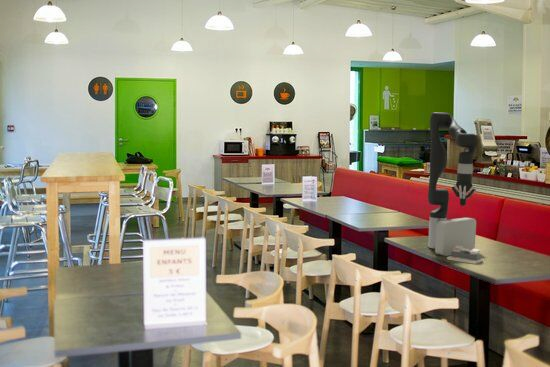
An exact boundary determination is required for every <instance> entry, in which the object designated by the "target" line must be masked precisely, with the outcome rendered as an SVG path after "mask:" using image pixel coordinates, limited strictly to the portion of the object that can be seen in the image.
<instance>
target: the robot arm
mask: <svg viewBox="0 0 550 367" xmlns="http://www.w3.org/2000/svg"><path fill="white" fill-rule="evenodd" d="M429 130H430V132H429V133H430V152H429V180H428V189H427V190H428V191H427V201H428V204H429V205H431V206H438V208H436V209H434V210H431V211H430V212H429V223H428V243H427V247H428V248H430V249H434V250H435V242H436V226H437V223H438V222H439V221H443V220H448V219H447V218H448V212H449V211H448V210H449V202H450V192H449V190H448V189H447V188H437V184H438V181H439V178H440V177H441V175H442V174H443V173H444V171H445V169H446V168H447V164H448V151H447V150H446V148H445V145H444V144H443V142H442V141H441V138H440V133H439V130H448V135H449V136H450V137H451V138H452V139H453V140H455V143H456V145H457V146H458V147H459V148H467V149H466V150H465V151H461V152H459V154H458V162H457V163H458V166H457V173H456V183H455V185H453V186H452V187H451V190H452V192H453V193H454V194H455V196H456V197H457V198H459V205H460V206H461V207H465V206H466V205H467V199H469V198H471V197H472V196H473V195H474V194H475V192H476V191H477V189H476V188H475V187H474V186H473V172H474V171H473V168H474V165H473V163H474V155H475V152H476V149H477V147H478V142H479V139H478V136H477V135H476V134H475V133H468V132H467V131H466V130H465V129H464V128H463V127H461V126H460V125H459V124H458V122H456V120H455V119H454V117H453V116H452V115H451V114H450V113H448V112H432V113H431V114H430V118H429ZM469 191H470V192H469Z"/></svg>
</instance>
